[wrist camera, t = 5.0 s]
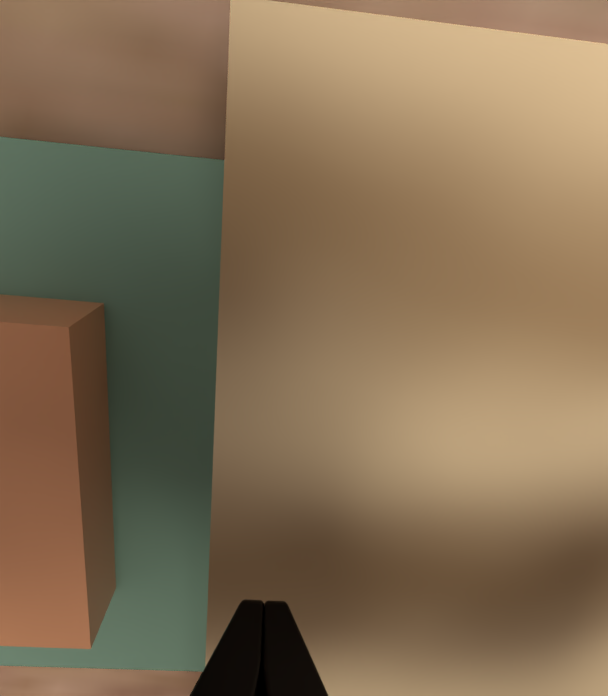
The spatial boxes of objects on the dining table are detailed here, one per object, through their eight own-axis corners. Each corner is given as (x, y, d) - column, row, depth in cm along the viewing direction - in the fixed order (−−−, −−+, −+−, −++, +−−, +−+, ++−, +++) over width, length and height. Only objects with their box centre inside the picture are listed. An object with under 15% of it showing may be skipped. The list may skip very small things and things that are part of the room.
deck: (515, 711, 18) (578, 856, 14) (217, 703, 17) (198, 855, 13) (726, 119, 11) (958, 89, 7) (250, 63, 10) (230, -6, 6)
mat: (219, 663, 16) (218, 671, 16) (-57, 654, 16) (-64, 663, 15) (245, 162, 11) (244, 162, 11) (-173, 119, 10) (-185, 117, 10)
